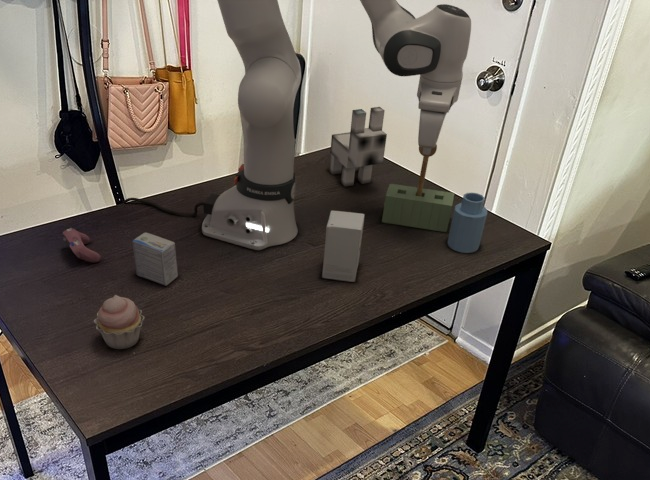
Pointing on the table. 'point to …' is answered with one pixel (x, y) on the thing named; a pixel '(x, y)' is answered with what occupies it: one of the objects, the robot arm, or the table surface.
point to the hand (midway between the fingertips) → (426, 151)
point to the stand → (417, 207)
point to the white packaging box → (342, 245)
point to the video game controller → (80, 245)
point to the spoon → (424, 168)
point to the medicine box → (155, 258)
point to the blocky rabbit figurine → (358, 147)
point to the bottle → (468, 224)
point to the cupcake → (119, 322)
